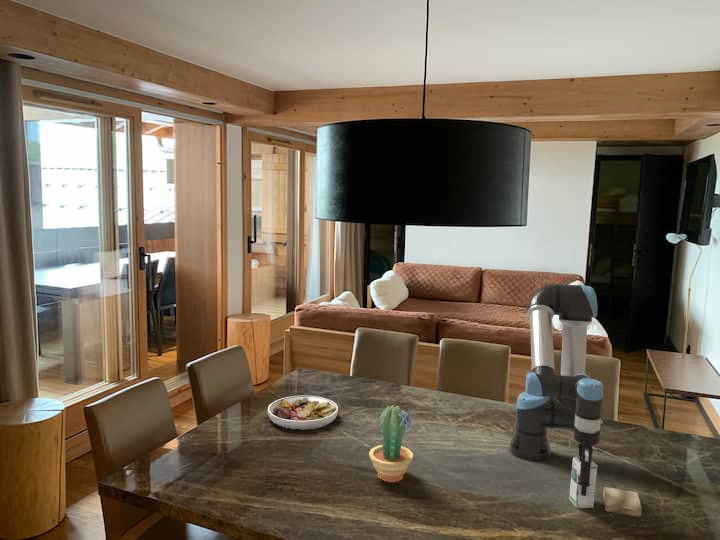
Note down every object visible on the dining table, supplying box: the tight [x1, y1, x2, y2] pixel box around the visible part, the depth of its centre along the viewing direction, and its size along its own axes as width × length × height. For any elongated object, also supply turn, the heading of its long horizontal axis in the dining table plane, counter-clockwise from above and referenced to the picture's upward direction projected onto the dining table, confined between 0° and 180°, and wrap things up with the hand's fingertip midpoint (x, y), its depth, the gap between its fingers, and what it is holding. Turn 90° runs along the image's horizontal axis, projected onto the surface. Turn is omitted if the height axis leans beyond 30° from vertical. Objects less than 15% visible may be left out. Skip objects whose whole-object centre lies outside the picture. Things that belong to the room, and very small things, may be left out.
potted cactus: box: [368, 404, 414, 483], centre depth 197 cm, size 15×15×25 cm
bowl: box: [267, 395, 339, 431], centre depth 247 cm, size 30×30×8 cm
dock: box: [602, 486, 643, 518], centre depth 182 cm, size 10×10×3 cm
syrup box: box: [568, 456, 598, 509], centre depth 182 cm, size 6×6×14 cm
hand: (581, 497), depth 183 cm, fingers closed on syrup box, 7 cm apart
